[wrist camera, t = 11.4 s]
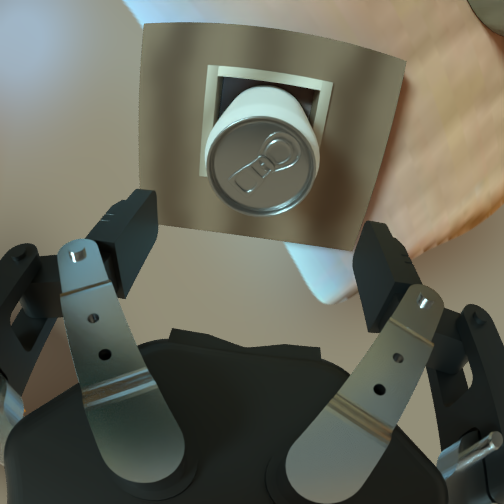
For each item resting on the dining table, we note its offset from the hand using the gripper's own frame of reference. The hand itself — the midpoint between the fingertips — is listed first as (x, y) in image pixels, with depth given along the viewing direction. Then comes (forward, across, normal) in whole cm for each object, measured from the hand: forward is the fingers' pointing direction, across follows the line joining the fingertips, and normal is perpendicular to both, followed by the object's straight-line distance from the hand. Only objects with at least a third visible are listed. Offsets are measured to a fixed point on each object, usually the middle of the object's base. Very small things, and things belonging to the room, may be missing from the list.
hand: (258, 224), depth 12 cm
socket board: (+17, 0, 0) cm, 17 cm away
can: (+17, 0, 0) cm, 17 cm away
